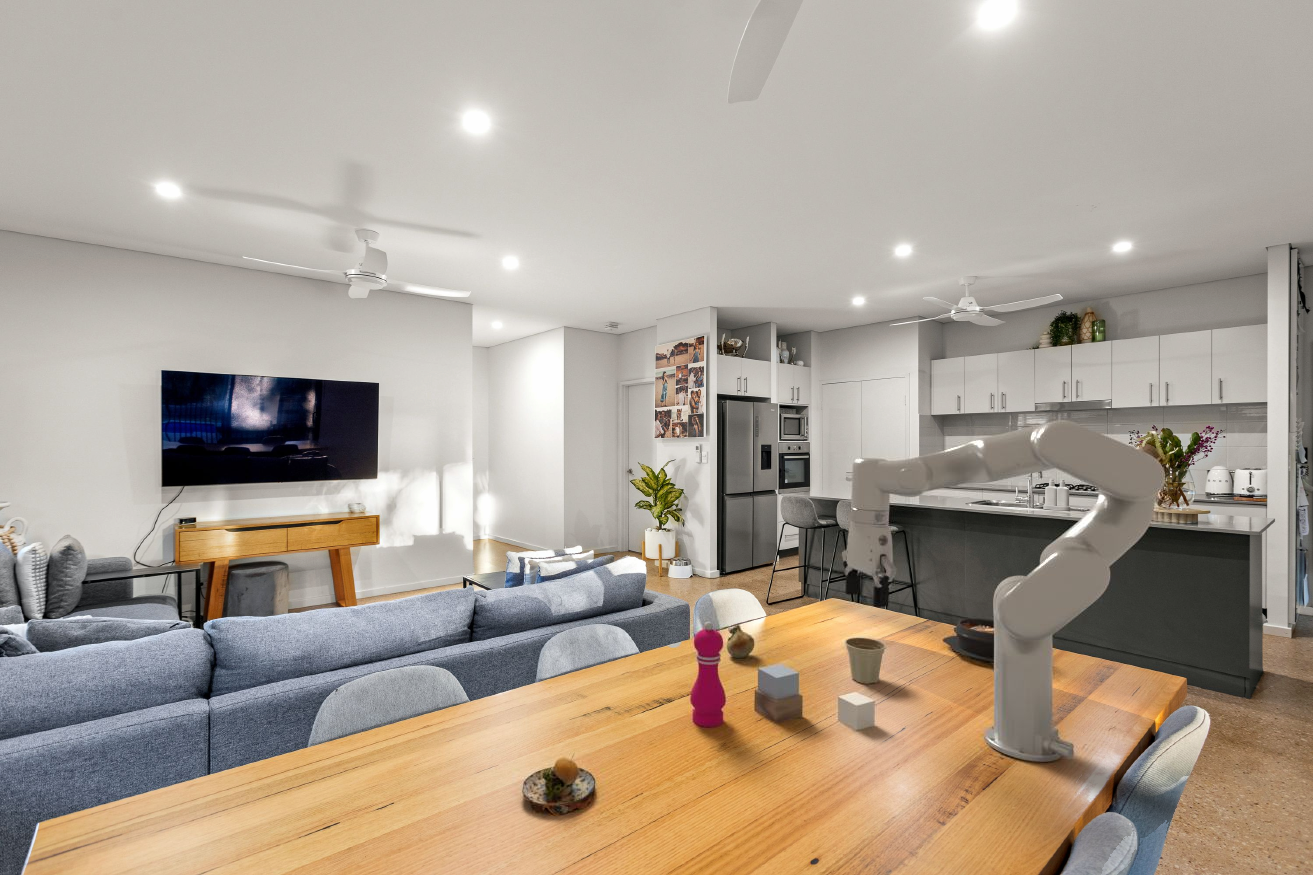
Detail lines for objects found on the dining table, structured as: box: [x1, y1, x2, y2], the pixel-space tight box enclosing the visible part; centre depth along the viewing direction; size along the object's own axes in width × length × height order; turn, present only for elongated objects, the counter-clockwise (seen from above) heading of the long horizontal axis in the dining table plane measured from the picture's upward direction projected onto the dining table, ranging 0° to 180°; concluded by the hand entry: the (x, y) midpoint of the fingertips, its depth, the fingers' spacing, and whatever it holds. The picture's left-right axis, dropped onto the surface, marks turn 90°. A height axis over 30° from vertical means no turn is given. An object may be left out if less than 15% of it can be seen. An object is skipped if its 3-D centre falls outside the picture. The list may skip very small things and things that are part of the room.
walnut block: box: [753, 688, 804, 724], centre depth 132 cm, size 7×7×4 cm
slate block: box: [757, 663, 800, 700], centre depth 132 cm, size 6×6×4 cm
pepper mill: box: [689, 621, 727, 728], centre depth 128 cm, size 7×7×20 cm
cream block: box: [837, 691, 876, 731], centre depth 128 cm, size 5×5×5 cm
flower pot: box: [844, 637, 887, 685], centre depth 152 cm, size 9×9×9 cm
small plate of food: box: [521, 754, 597, 816], centre depth 101 cm, size 12×12×8 cm
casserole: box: [942, 618, 994, 665], centre depth 169 cm, size 25×19×8 cm
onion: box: [726, 624, 755, 659], centre depth 167 cm, size 8×8×8 cm
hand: (866, 599), depth 131 cm, fingers open, 9 cm apart
